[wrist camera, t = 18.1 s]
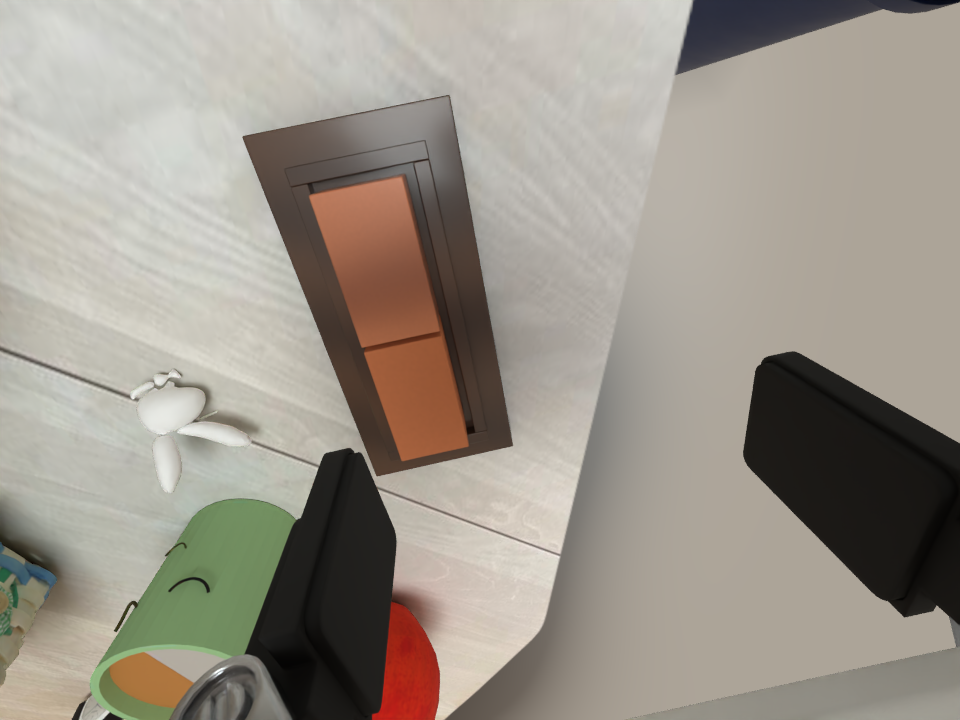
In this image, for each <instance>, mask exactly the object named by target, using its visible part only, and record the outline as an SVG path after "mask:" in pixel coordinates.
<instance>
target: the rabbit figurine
mask: <svg viewBox="0 0 960 720" xmlns="http://www.w3.org/2000/svg"><path fill="white" fill-rule="evenodd" d="M170 377H175V378H181V375H180V374H179V373H178V372H177V371H176V370H175V369H172V370H171V371H170V373H169V374H168V375H163V374H155V375H154V383H155V384H156V385H159V386H160V385H163V384H165V383H166V381H167V380H168V379H169V378H170ZM154 383H153V382H146V383H144V384H142V385H141V386H139V387H137V388H135V389H133V390H132V391H131V393H130V395H131V399H133V400H134V399H135V397H136V396H138V395H139V394H141V393H142V392H144V391H146V390H149V389H151V388H152V387H154ZM174 384H175V383H173V382H167V384H166V385H165V386H164V387H163V388H162V389H160V390H158V389H156V388H153V389H152V390H151V391H150V392H148V393H147V394H146V395H144V396H143V397H142V398H141V399H140V400H139V401H138V404H137V413H138V417H139V420H140V422H141V423H142V425H143V426H144V427H145V428H146V429H147V430H149V431H151V432H154V433H156V434H158V435H161V436H159V437H157V438H156V439H155V441H154V442H153V445H152V452H153V459H154V463H155V468H156V471H157V477H158V480H159V482H160V485H161V487H162V489H163V490H164V491H165V492H167V493H172V492H174V490H175V487H176V486H177V483H178V481H179V479H180V476H181V472H182V462H181V455H180V452H179V450H178V447H177V444H176V442H175V440H174V438H173V437H172V436H170V435H166V434H167V433H168V432H171V431H176V430H178V429H179V430H178V432H177V433H179V434H184V435H190V436H196V437H201V438H206V439H209V440H211V441H214V442H218V443H221V444H224V445H226V446H230V447H244V446H249V445H250V443H251V442H252V440H251V438H250V437H249V436H248V435H247V434H246V433H244V432H242V431H241V430H238V429H236V428H235V427H232V426H229V425H225V424H221V423H215V422H207V421H202V422H195V423H191V422H192V421H193V420H194V419H196V418H197V417H198V416H199V414H200V413H201V412H202V410H203V408H204V405H205V394H204V392H203V391H201V390H200V389H197V388H194V387H182V388H177V387H175V386H174ZM217 411H218V410H216V411H214V412H212V413H210V414H207V415H205V416H203V417H200V419H199V420H201V419H204V418H206V417H208V416H211V415H213V414H215V413H217ZM189 423H191V424H189Z"/></svg>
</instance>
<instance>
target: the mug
mask: <svg viewBox="0 0 960 720" xmlns="http://www.w3.org/2000/svg"><path fill="white" fill-rule="evenodd" d="M294 522H296V520H295V519H294V517H292V516H291V515H290V514H288V513H287V512H286V511H284V510H282V509H280V508H279V507H276V506H274V505H271V504H269V503H265V502H262V501H258V500H250V499H231V500H224V501H220V502H216V503H213V504H211V505H209V506H207V507H205V508H203V509H202V510H200V511H199V512H198V513H197V514H196V515H195V516H194V517H193V518H192V519H191V521H190V522H189V524H188V526H187V527H186V529H185V530H184V532H183V533H182V535H181V537H180V538H179V540H178V541H177V543H176V544H175V546H174V547H173V548H172V549H171V550H170V551H169V552H168V553H167V554H166V555H165V556H167V555H168V554H169V553H170V554H169V555H168V557H167V558H166V560H165V561H164V563H163V565H162V566H161V568H160V569H159V571H158V572H157V574H156V575H155V577H154V579H153V580H152V582H151V583H150V585H149V586H148V588H147V590H146V591H145V593H144V594H143V596H142V597H141V599H140V600H139V602H138V604H137V602H136V601H131V602H130V603H129V604H128V606H127V607H126V609H125V611H124V613H123V615H122V617H121V619H120V621H119V623H118V625H117V627H116V628H115V630H114V631H115V632H117V631H118V629H119V628H120V626H121V624H122V622H123V620H124V618H125V616H126V614H127V612H128V610H129V608H130V606H131V605H132V604H133V605H134V606H135V608H134V610H133V611H132V613H131V614H130V616H129V618H128V619H127V621H126V622H125V624H124V625H123V627H122V628H121V630H120V632H119V633H118V635H117V636H116V638H115V639H114V641H113V642H112V644H111V646H110V647H109V649H108V650H107V652H106V653H105V655H104V657H103V658H102V660H101V661H100V663H99V664H98V666H97V667H96V669H95V671H94V672H93V674H92V676H91V679H90V689H91V693H92V695H93V697H94V698H95V700H96V701H97V702H98V703H99V704H100V705H101V706H102V707H103V708H105V709H106V710H108V711H109V712H111V713H112V714H114V715H116V716H119V717H121V718H123V719H126V720H169V719H170V717H171V715H172V713H173V711H174V709H175V707H176V705H177V704H178V703H179V701H180V700H181V699H182V697H183V696H184V695H185V693H186V692H187V691H188V689H189V688H190V687H191V686H192V685H193V684H194V683H195V682H196V681H197V680H198V679H199V678H200V677H201V676H202V675H203V674H204V673H205V672H207V671H208V670H209V669H211V668H212V667H214V666H215V665H216V664H218V663H219V662H221V661H224V660H226V659H228V658H231V657H233V656H237V655H244V654H245V651H246V649H247V646H248V643H249V640H250V638H251V635H252V632H253V630H254V627H255V624H256V622H257V619H258V616H259V614H260V611H261V608H262V606H263V603H264V600H265V597H266V595H267V592H268V589H269V587H270V584H271V581H272V579H273V576H274V573H275V571H276V568H277V565H278V563H279V560H280V557H281V554H282V552H283V549H284V546H285V544H286V541H287V538H288V536H289V533H290V530H291V528H292V526H293V524H294Z"/></svg>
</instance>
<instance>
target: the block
mask: <svg viewBox="0 0 960 720" xmlns="http://www.w3.org/2000/svg"><path fill="white" fill-rule="evenodd" d="M439 323H440V331H438V332H433V333H429V334H424V335H419V336H415V337H410V338H406V339H401V340H396V341H392V342H387V343H382V344H378V345H373V346H368V347H366V348H365V351H364V355H365V358H366V361H367V363H368V366H369V369H370V372H371V375H372V378H373V381H374V383H375V386H376V389H377V392H378V395H379V398H380V401H381V403H382V406H383V409H384V412H385V415H386V418H387V421H388V423H389V426H390V429H391V432H392V435H393V438H394V441H395V443H396V446H397V449H398V452H399V455H400V458H401V460H402V461H406V460H410V459H415V458H419V457H424V456H428V455H433V454H437V453H442V452H446V451H451V450H455V449H460V448H464V447H468V446H469V444H468V437H467V431H466V424H465V418H464V413H463V409H462V404H461V400H460V396H459V392H458V388H457V384H456V380H455V375H454V371H453V367H452V363H451V359H450V355H449V351H448V346H447V342H446V338H445V334H444V330H443V326H442V322H441V317H440V315H439Z"/></svg>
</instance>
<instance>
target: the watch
mask: <svg viewBox="0 0 960 720" xmlns="http://www.w3.org/2000/svg"><path fill="white" fill-rule="evenodd" d="M72 720H123V718H121V717H119V716H116V715H114V714H112V713H111V712H109V711H108V710H106V709H105V708H103V707H102V706H101V705H100V704H99V703H98V702H97V701H96V700H95V698H94V697H93V695H92V696H91V697H90V698H89V699H88V700H87V701H85V702H82V703H81V704H79V706H78V708H77V710H76V712H75V714H74V716H73V718H72Z"/></svg>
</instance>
